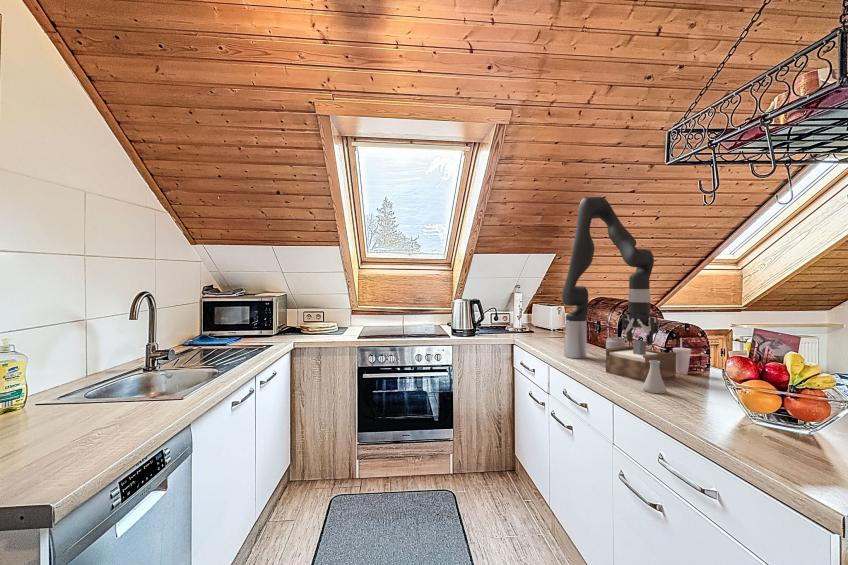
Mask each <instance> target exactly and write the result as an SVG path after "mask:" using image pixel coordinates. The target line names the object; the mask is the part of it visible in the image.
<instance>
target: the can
mask: <svg viewBox="0 0 848 565" xmlns="http://www.w3.org/2000/svg"><path fill="white" fill-rule="evenodd" d="M625 346H626V341H625V340H624V337H622V336H607V339H606V341H605V349H606V348H615V347H625Z"/></svg>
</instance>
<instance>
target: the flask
mask: <svg viewBox="0 0 848 565" xmlns="http://www.w3.org/2000/svg"><path fill="white" fill-rule="evenodd" d="M649 362H650V369H649V373H648V376H647V378H646V381H645V382H643V385H642V387H641V388H642V390H643V391H645V392H647V393H652V394H666V393H668V391H667V388H666V386H665V382H664V380H662V377H661V374H660V369H659V364H660V361H654V360H651V361H649Z"/></svg>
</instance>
